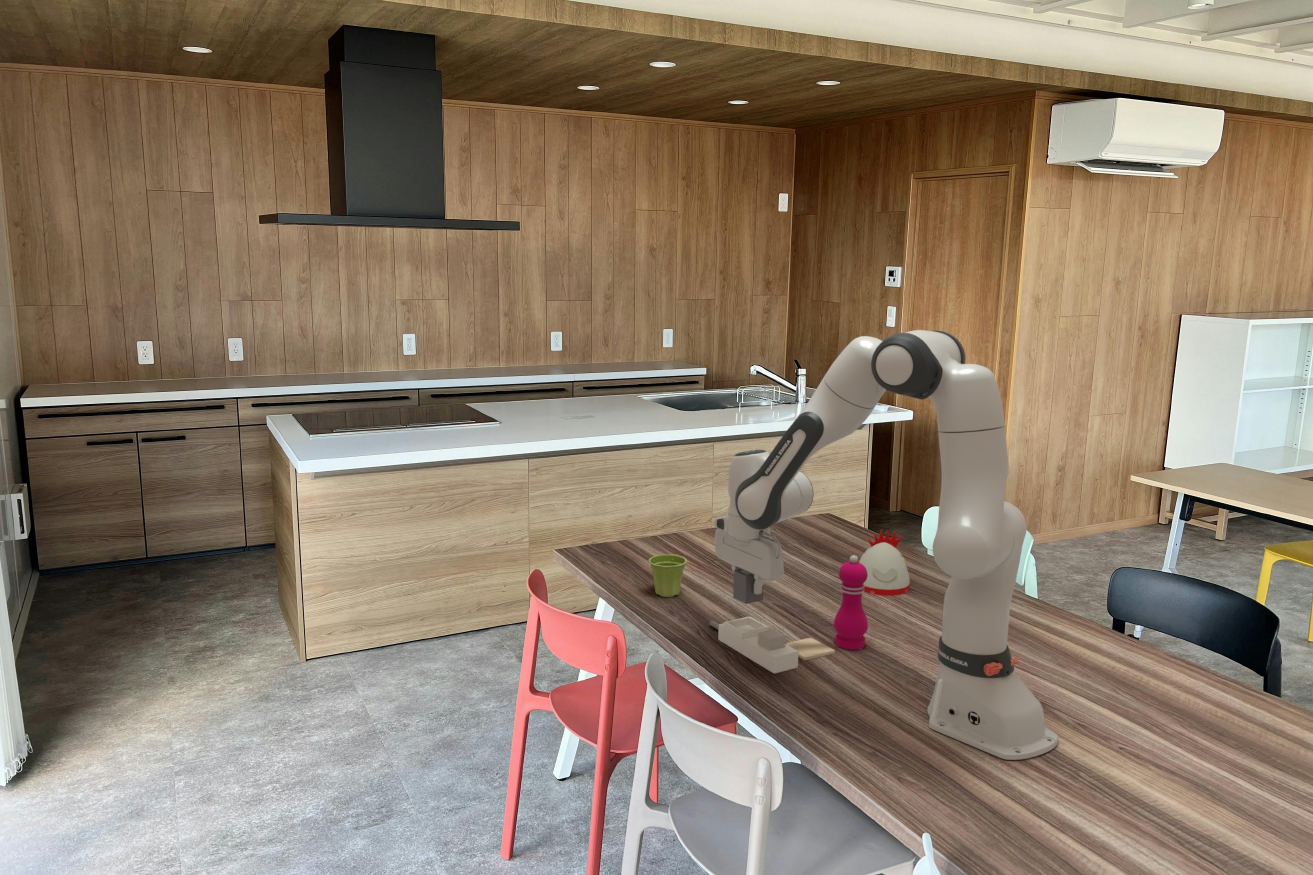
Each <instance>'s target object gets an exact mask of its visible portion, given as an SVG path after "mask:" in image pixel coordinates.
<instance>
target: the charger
mask: <svg viewBox="0 0 1313 875" xmlns="http://www.w3.org/2000/svg"><path fill="white" fill-rule="evenodd" d="M755 580H756V579H754V574H752V573H750V572H748V571H746V570H743V569H740V570H735V571H734V574H733V587H732V588H733V593H732V594H733V595H732V597H733V599H735V600H737V601H739V602H740V603H743V604H745V605H746V604H751V603H757V602H760V601H761V602H762V601H764V585H763V586H762V593H761V594H757V595H756V594H754V593H752V592H751V585H754V583H755Z"/></svg>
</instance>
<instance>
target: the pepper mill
mask: <svg viewBox="0 0 1313 875" xmlns="http://www.w3.org/2000/svg"><path fill="white" fill-rule="evenodd" d="M867 576H868V574H867V569H866V568H865V566H864V565H863V564H861V563H859V558H858V556H857V555H855V554H853V555H851V556H850V557H849V561H847V562H844V563H843V564H842V565H841V566H840V568H839V571H838V577H839V579H840V581H841V583H840V591H841V592H842V600H841V605H840V607H839V609H838V611H837V613H836V614H835V617H834V620H833V628H834V630H835V631H836V632H837V633H836V634H835V640H834V641H835V645H836V646H837V647H839V648H840V649H843V650H851V651H854V650H855V651H856V650H861V649H863V648H864V647H866V646H865V645H866V637H865V636H864V635H865V634H866V633H867V632H868V630H869V622H868V619H867V615H866V613H865V611H864V609H863V604H862V596H863V594H864V593H865V592H864V587H865V586H864V584H863V583H864V582H865V581H866V580H867Z"/></svg>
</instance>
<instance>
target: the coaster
mask: <svg viewBox="0 0 1313 875" xmlns="http://www.w3.org/2000/svg"><path fill="white" fill-rule="evenodd" d="M785 644H786V645H788V646H790V647H792V648H793V649H795V650H797V651H798V658H800V659H801V660H803V661H809V660H812V659H813V660H814V659H818V658H820V657H824V656H828V655H833V654H835V653H836V650H835V649H833V648H831V647H830V646H828V645H826V644H823V643H822V642H820V641H818V640H816V639H814V638H812V637H808V638H807V637H806V638H803V639H800V640H799V639H798V640H795V641H790V642H785Z"/></svg>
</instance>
